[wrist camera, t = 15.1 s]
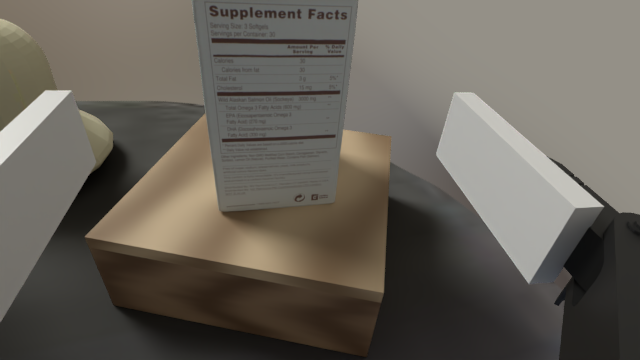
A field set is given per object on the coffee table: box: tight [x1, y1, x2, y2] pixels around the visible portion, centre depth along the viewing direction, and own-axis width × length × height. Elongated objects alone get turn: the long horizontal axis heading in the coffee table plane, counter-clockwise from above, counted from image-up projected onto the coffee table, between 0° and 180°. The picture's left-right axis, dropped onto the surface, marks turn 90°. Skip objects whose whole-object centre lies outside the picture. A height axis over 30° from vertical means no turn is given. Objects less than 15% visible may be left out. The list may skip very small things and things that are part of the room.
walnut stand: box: [85, 113, 391, 357], centre depth 27 cm, size 16×16×6 cm
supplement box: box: [192, 0, 358, 212], centre depth 22 cm, size 7×7×13 cm
